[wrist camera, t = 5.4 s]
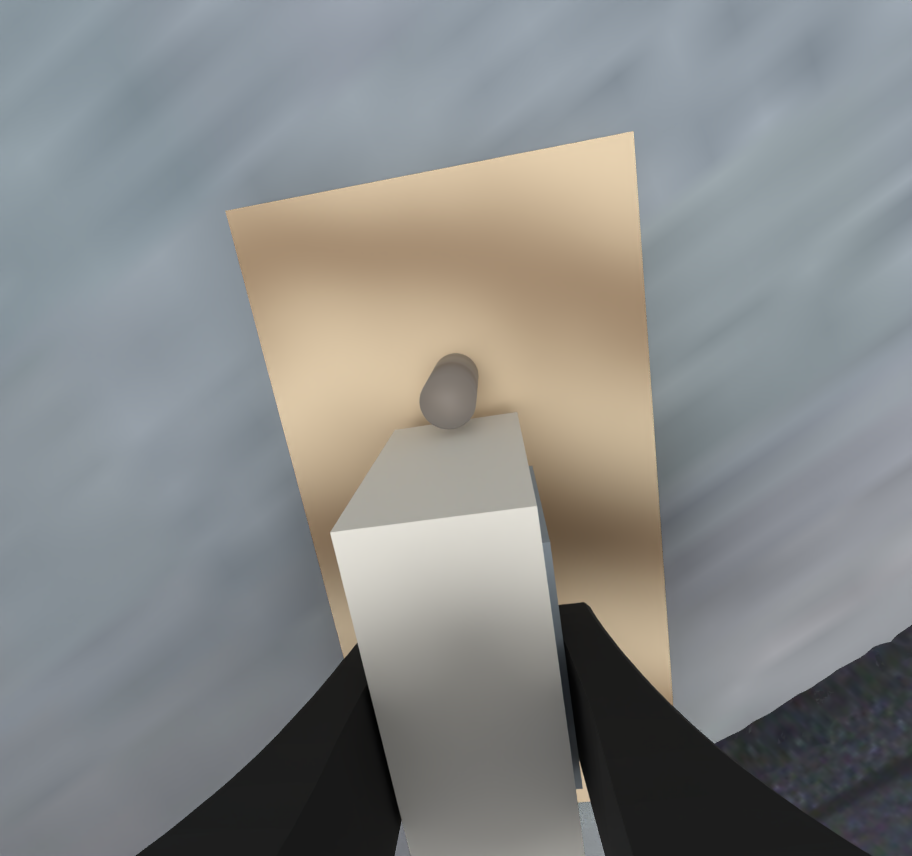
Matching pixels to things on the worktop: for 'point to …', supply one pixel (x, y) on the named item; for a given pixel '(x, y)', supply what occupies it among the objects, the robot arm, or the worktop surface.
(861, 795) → the dark slate chunk
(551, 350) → the ledge
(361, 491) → the white rectangular block
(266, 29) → the worktop surface
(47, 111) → the worktop surface
